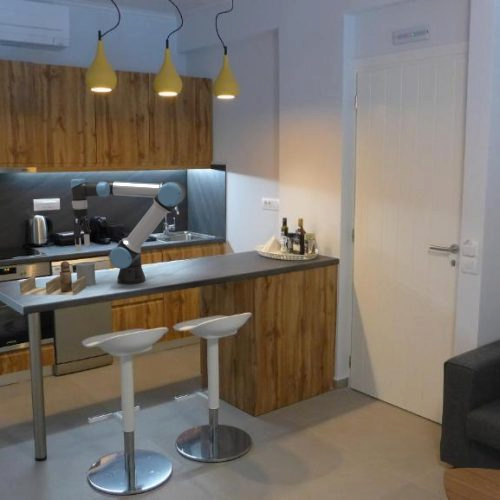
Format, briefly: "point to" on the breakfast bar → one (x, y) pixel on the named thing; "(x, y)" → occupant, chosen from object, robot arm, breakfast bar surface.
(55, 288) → the rack
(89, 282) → the grey notched block
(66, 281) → the pepper mill
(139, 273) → the robot arm
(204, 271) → the breakfast bar surface
